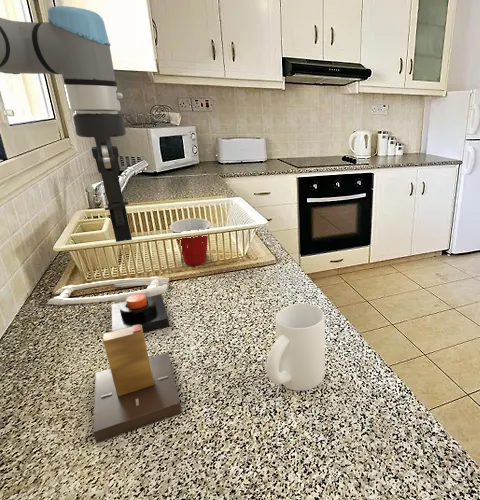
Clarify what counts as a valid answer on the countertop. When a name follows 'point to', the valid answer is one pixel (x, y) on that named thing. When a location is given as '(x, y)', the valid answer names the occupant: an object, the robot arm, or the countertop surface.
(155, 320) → the black base
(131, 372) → the lock turn
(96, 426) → the plate
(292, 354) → the mug
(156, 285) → the door handle
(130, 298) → the bell button
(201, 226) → the plastic cup
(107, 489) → the countertop surface
